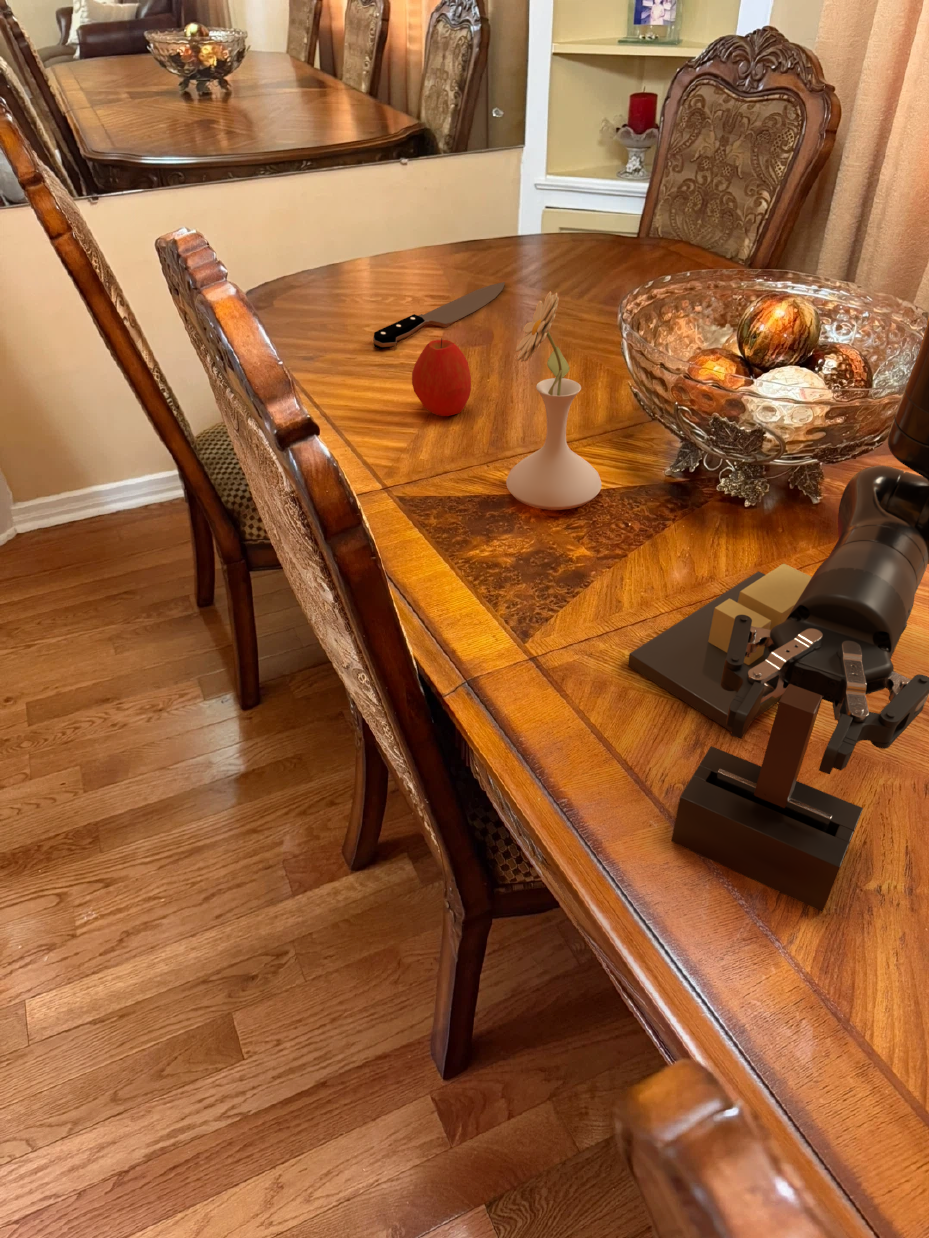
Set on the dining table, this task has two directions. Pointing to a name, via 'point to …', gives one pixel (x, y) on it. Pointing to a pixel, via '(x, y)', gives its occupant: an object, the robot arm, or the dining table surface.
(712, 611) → the board
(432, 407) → the apple
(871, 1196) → the dining table surface
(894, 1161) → the dining table surface
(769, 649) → the robot arm
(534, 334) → the flower in vase
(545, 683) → the dining table surface
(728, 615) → the block
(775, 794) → the knife
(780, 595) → the butter block
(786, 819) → the knife stand
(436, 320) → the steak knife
